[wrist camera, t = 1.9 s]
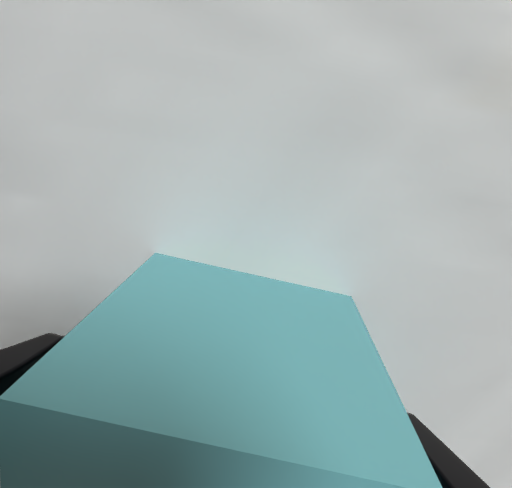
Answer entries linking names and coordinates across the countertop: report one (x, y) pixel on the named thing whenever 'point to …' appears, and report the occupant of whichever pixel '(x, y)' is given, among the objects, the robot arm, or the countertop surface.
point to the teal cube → (211, 392)
